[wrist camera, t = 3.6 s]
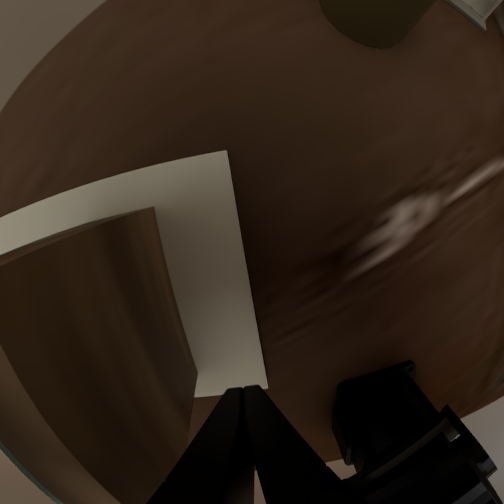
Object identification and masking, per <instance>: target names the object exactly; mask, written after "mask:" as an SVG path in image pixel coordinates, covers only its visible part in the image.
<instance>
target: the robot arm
mask: <svg viewBox="0 0 504 504" xmlns="http://www.w3.org/2000/svg"><path fill="white" fill-rule="evenodd" d="M415 371H416V364H415V363H414V362H413V361H409V362H407V363H404V364H401V365H398V366H396V367H393V368H390V369H387V370H384V371H381V372H378V373H375V374H371V375H368V376H365V377H362V378H358V379H355V380H351V381H348V382H344V383H341V384H340V385H339V386H338V387H337V407H335V408H334V410H333V418H332V430H333V433H334V435H335V438H336V441H337V444H338V446H339V449H340V452H341V454H342V457H343V460H344V462H345V464H346V465H348V466H349V465H353V464H354V467H355V470H356V472H357V473H356V474H355V475H353V476H351V477H349V478H347V479H343V480H341V479H340V478H339V477H338V476H337V475H336V474H335V473H334V472H333V471H332V470H331V469H330V468H329V467H328V466H326V463H325V462H324V461H323V460H322V459H321V458H320V457H319V456H318V455H317V453H316V452H315V451H314V450H313V449H312V448H311V447H310V446H309V444H308V443H307V442H306V441H305V440H304V439H303V438H302V436H301V435H300V434H299V433H298V432H297V431H296V429H295V428H294V427H293V426H292V425H291V423H290V422H289V421H288V420H287V419H286V417H285V416H284V415H283V414H282V413H281V411H280V410H279V409H278V408H277V406H276V405H275V404H274V403H273V401H272V400H271V399H270V398H269V396H268V395H267V394H266V393H265V391H264V390H263V389H262V388H261V386H260V385H258V384H256V385H249V386H245V387H244V388H242V387H233V388H228V389H226V391H225V392H224V394H223V396H222V397H221V399H220V400H219V402H218V403H217V405H216V406H215V408H214V409H213V411H212V412H211V414H210V415H209V417H208V418H207V420H206V421H205V423H204V424H203V426H202V427H201V429H200V430H199V432H198V433H197V435H196V436H195V438H194V439H193V440H192V442H191V443H190V445H189V446H188V448H187V449H186V451H185V452H184V453H183V455H182V456H181V458H180V459H179V460H178V462H177V463H176V465H175V466H174V467H173V469H172V470H171V472H170V473H169V474H168V476H167V477H166V478H165V480H166V481H163V482H162V484H161V485H160V486H159V488H158V489H157V490H156V492H155V493H154V494H153V495H152V497H151V498H150V499H149V500H148V501H147V503H146V504H254V476H255V475H254V474H255V466H256V470H257V473H258V477H259V480H260V483H261V487H262V491H263V494H264V498H265V501H266V504H503V503H502V501H501V499H500V498H499V496H498V495H497V493H496V491H495V490H494V488H493V486H492V485H491V483H490V482H489V480H488V478H489V477H490V476H491V475H492V474H493V473H494V472H495V471H496V470H497V467H496V466H495V464H494V463H493V461H492V460H491V458H490V457H489V455H488V454H487V453H486V451H485V450H484V449H483V447H482V446H481V445H480V443H479V442H478V441H477V440H476V438H475V437H474V436H473V435H472V433H471V432H470V431H469V430H468V429H467V427H466V426H465V425H464V424H463V423H462V421H461V420H460V419H459V418H458V417H457V415H456V414H455V413H454V412H453V411H452V410H451V408H450V407H449V406H448V405H446V406H445V407H444V408H443V409H442V410H441V412H440V413H439V412H438V411H437V410H436V409H435V407H434V406H433V405H432V403H431V402H430V401H429V400H428V398H427V397H426V396H425V395H424V393H423V392H422V391H421V390H420V388H419V387H418V386H417V385H416V383H415V382H414V381H413V380H414V376H415ZM345 388H346V389H345ZM343 389H344V390H343ZM458 434H460V436H459V437H458V438H457V439H454V438H455V437H456V436H457V435H458ZM453 439H454V440H453ZM451 440H453V441H451ZM450 441H451V442H450Z"/></svg>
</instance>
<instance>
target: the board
mask: <svg viewBox="0 0 504 504" xmlns="http://www.w3.org/2000/svg"><path fill="white" fill-rule="evenodd" d="M153 206H154V209H155V214H156V219H157V224H158V229H159V234H160V238H161V243H162V247H163V252H164V256H165V260H166V264H167V268H168V272H169V276H170V280H171V284H172V288H173V292H174V296H175V299H176V303H177V307H178V310H179V314H180V317H181V321H182V324H183V327H184V331H185V334H186V337H187V341H188V344H189V347H190V350H191V353H192V357H193V360H194V363H195V366H196V369H197V372H198V377H197V383H196V389H195V395H194V397H204V396H215V395H223V394H224V392H225V391H226V389H228V388H233V387H242V388H244V387H245V386H249V385H256V384H258V385H260V386H261V388H262V389H267V388H268V384H267V378H266V372H265V367H264V361H263V356H262V350H261V345H260V339H259V334H258V328H257V322H256V317H255V311H254V305H253V300H252V294H251V288H250V283H249V277H248V271H247V266H246V260H245V254H244V248H243V242H242V237H241V231H240V225H239V219H238V213H237V207H236V201H235V196H234V190H233V184H232V178H231V172H230V166H229V160H228V154H227V150H224V151H219V152H213V153H208V154H203V155H198V156H193V157H188V158H183V159H179V160H174V161H170V162H165V163H161V164H157V165H153V166H149V167H145V168H141V169H137V170H134V171H130V172H126V173H123V174H119V175H116V176H112V177H109V178H106V179H102V180H99V181H96V182H93V183H89V184H86V185H83V186H80V187H77V188H74V189H71V190H69V191H66V192H63V193H60V194H57V195H55V196H52V197H49V198H47V199H44V200H41V201H39V202H36V203H34V204H31V205H29V206H26V207H24V208H21V209H19V210H17V211H14V212H12V213H10V214H8V215H5V216H3V217H1V218H0V255H1V254H4V253H6V252H8V251H11V250H13V249H16V248H18V247H21V246H23V245H26V244H28V243H31V242H34V241H36V240H39V239H42V238H44V237H47V236H50V235H52V234H55V233H58V232H61V231H64V230H67V229H69V228H72V227H75V226H78V225H81V224H84V223H87V222H91V221H95V220H98V219H102V218H106V217H110V216H114V215H118V214H122V213H127V212H131V211H135V210H139V209H144V208H148V207H153Z"/></svg>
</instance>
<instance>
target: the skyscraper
mask: <svg viewBox="0 0 504 504" xmlns="http://www.w3.org/2000/svg"><path fill="white" fill-rule="evenodd" d="M445 1H446V2H447V3H449V4H450V5H452V6H453V7H454V8H456V9H457V10H458V11H459V12H461V13H462V14H463V15H464V16H466V17H467V18H468V19H469V20H471V21H472V22H473V23H474V24H475V25H476V26H478V27H479V28H480V29H481V30H482V31H483V32H485V31H487V30H486V24H485V20H486V18H487V17H488V16H489V15H490V14H491V13H492V12H493V11H494V10H495V8H496V7H497V6H498V5H499V4H500V3H501V2H502V1H503V0H445Z"/></svg>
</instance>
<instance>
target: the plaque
mask: <svg viewBox="0 0 504 504" xmlns="http://www.w3.org/2000/svg"><path fill="white" fill-rule="evenodd" d="M197 377H198V372H197V369H196V366H195V363H194V360H193V357H192V353H191V350H190V347H189V344H188V341H187V337H186V334H185V331H184V327H183V324H182V321H181V317H180V314H179V310H178V307H177V303H176V299H175V296H174V292H173V288H172V284H171V280H170V276H169V272H168V268H167V264H166V260H165V256H164V252H163V247H162V243H161V238H160V234H159V229H158V224H157V219H156V214H155V209H154V206H153V207H148V208H144V209H139V210H135V211H131V212H127V213H122V214H118V215H114V216H110V217H106V218H102V219H98V220H95V221H91V222H87V223H84V224H81V225H78V226H75V227H72V228H69V229H67V230H64V231H61V232H58V233H55V234H52V235H50V236H47V237H44V238H42V239H39V240H36V241H34V242H31V243H28V244H26V245H23V246H21V247H18V248H16V249H13V250H11V251H8V252H6V253H4V254H1V255H0V449H1V450H2V451H3V452H4V453H5V454H6V456H7V457H9V459H10V460H11V461H12V462H13V463H14V464H15V465H16V466H17V467H18V468H19V469H20V471H21V472H22V473H23V474H24V475H25V476H27V477H28V478H29V479H30V480H31V481H32V482H33V483H34V484H35V485H36V486H37V487H38V488H39V489H41V491H43V492H44V493H45V494H46V495H47V496H49V497H50V498H51V499H52V500H53V501H54V502H56V503H57V504H146V503H147V501H148V500H149V499H150V498H151V497H152V495H153V494H154V493H155V492H156V490H157V489H158V488H159V486H160V485H161V484H162V482H163V481H166V480H165V478H166V477H167V476H168V474H169V473H170V472H171V470H172V469H173V467H174V466H175V465H176V463H177V462H178V460H179V459H180V458H181V456H182V455H183V453H184V452H185V451H186V447H187V440H188V433H189V427H190V420H191V414H192V407H193V401H194V395H195V389H196V383H197Z"/></svg>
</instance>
